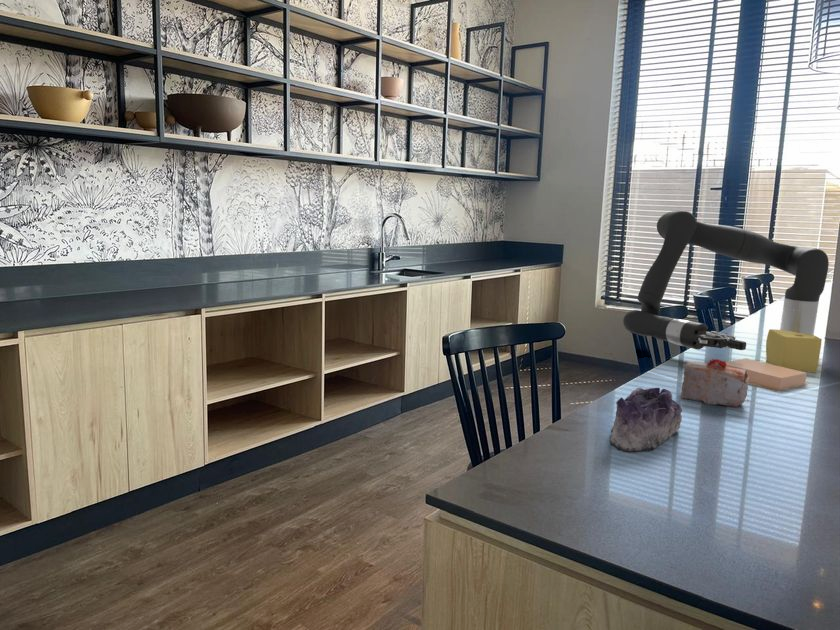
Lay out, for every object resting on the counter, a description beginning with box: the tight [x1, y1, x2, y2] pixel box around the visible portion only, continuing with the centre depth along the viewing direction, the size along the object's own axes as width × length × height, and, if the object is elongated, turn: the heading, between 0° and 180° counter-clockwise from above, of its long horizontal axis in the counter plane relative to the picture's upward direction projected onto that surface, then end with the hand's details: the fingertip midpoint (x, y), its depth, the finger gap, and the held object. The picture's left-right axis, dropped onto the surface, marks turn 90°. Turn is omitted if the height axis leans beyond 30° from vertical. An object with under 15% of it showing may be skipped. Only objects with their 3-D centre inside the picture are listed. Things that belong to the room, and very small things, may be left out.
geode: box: [609, 387, 683, 453], centre depth 120 cm, size 20×12×10 cm, turn 145°
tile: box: [725, 358, 808, 391], centre depth 166 cm, size 12×3×16 cm
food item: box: [680, 358, 750, 408], centre depth 146 cm, size 14×8×10 cm, turn 63°
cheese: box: [765, 329, 822, 373], centre depth 181 cm, size 10×11×10 cm
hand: (744, 346), depth 169 cm, fingers closed
